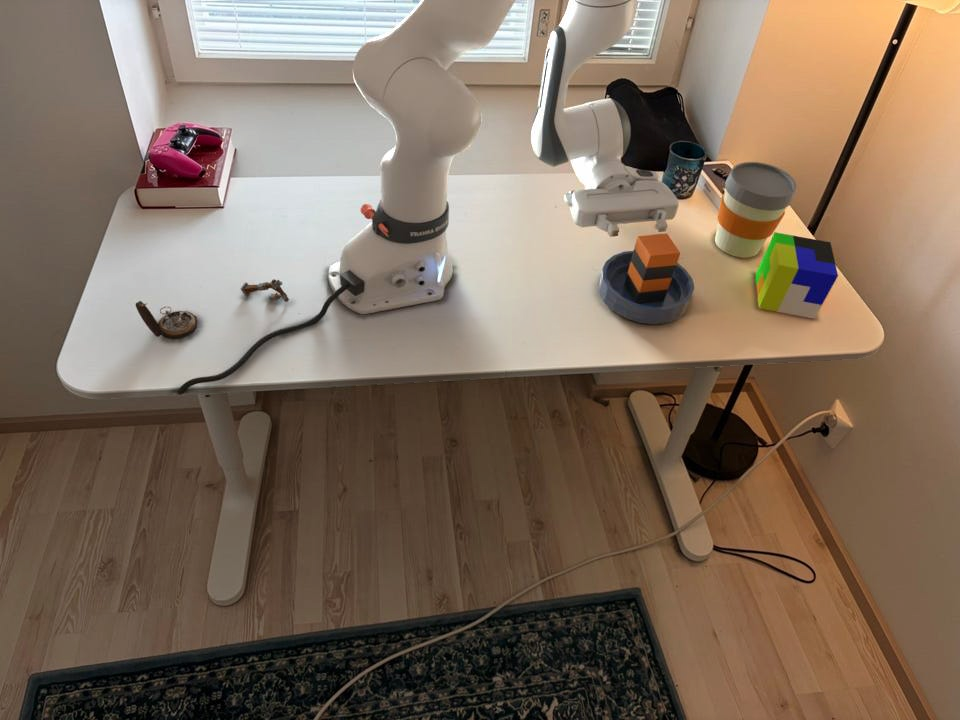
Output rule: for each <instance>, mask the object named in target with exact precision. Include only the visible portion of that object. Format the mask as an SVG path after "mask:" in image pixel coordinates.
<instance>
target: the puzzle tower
mask: <svg viewBox="0 0 960 720" xmlns="http://www.w3.org/2000/svg"><path fill="white" fill-rule="evenodd" d="M632 251H633V255H632V259H631V262H630V266H629V269H628V273H627V276H626V280H625V283H624V285H625V287H626V288H627V290H628V292H629V294H630V295H631V297H632V299H633V300H634V302H635V303H637V304H644V303H652V302H661V301H664V300H665V297H666V294H667V291H668V288H669V285H670V282H671V279H672V276H673V273H674V271H675V268H676V265H677V263H679V259H680V255H681V251H680V249H679V248H678V247H677V245H676V244H675V242H674V241H673V239H672V238H671V236H670V235H669V234H668V233H666V232H665V233H657V234H646V235H638V236H637V237H636V241H635V244H634V249H633V250H632Z"/></svg>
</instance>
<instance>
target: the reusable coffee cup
mask: <svg viewBox="0 0 960 720" xmlns="http://www.w3.org/2000/svg"><path fill="white" fill-rule="evenodd" d="M724 187H725V190H724V192H723V194H722V195H721V199H720V204H719V208H718V213H717V222H718V224H717V227H716V233H715V236H714V242H715V245H716V246H717V248H719V250H721V251H722V252H724V253H726V254H728V255H729V256H732V257H735V258H743V259H744V258H745V259H748V258H753V257H755V256H756V255H758V254H759V253H760V251H761V249H762V247H763V246H764V244H765V243H766V241H767V240H768V238H770V237H771V236H773V235H774V232H776V229H777V227H778V226H779V225H780V223H781V221H782V219H783V218H784V216H785V212H786V209H787V208H788V207H789V206H790V205H791V204H792V202H793V199H794V196H795V193H796V189H797V183H796V181H795V179H794V178H793V176H792V175H790V174H789V173H788V172H787V171H785V170H783V169H781V168H779V167H778V166H774V165H772V164H768V163H764V162H759V161H745V162H740V163H738V164H736V165H734V166H733V168H732V169H731V170H730V171H729V174H728V176H727V178H726V180H725V183H724Z"/></svg>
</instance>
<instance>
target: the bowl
mask: <svg viewBox="0 0 960 720" xmlns="http://www.w3.org/2000/svg"><path fill="white" fill-rule="evenodd" d="M633 251H634V250H627V251H622V252H619V253H616V254H614V255H612V256H611V257H610V258H609V259H607V260H606V261H605V262H604V264H603V267H602V269H601V273H600V276H599V280H598V293H599V295H600V298H601V299H602V301H603V303H604V304H605V305H606V306H607V307H608V308H609V309H610V310H611V311H612V312H614V313H616V314H618V315H619V316H621V317H623V318H624V319H627V320H631V321H633V322H636V323H637V322H638V323H641V324H648V325H649V324H650V325H659V324H667V323H670V322H673V321H676V320H677V319H680V318H681V317H682V316H683V315H684V314H685V313H686V312H687V311H688V308H689V305H690V302H691V300H692V297H693V293H694V292H695V285H694V280H693V278H692V276H691V275H690V273H689V272H688V270H687V268H685V267H684V266H682V265H681V264H680V263H679V262H677V265H676V268H675V271H674V273H673V276H672V279H671V282H670V285H669V288H668V291H667V294H666V297H665V300H664V301H661V302H652V303H644V304H637V303H635V302H634V300H633V299H632V297H631V295H630V294H629V292H628V290H627V288H626V287H625V285H624V283H625V280H626V276H627V273H628V269H629V266H630V262H631V259H632V255H633Z"/></svg>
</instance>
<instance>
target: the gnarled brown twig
mask: <svg viewBox="0 0 960 720" xmlns="http://www.w3.org/2000/svg"><path fill="white" fill-rule="evenodd" d="M282 285H283V282H282V281H281V280H279V279H271V281H269V282H267V281H265V282H261V283H260V282H259V284H249V283H248V282H244V283H243V285H242V286H241V287H240V289H239V290H240V291H241V292H242V294H243V296H244V297H245V298H246V297H248V296H249V295H250V294H251V293H254V292H258V291H259V292H262V291H268V290H269V289H272V290H273V291H274V292H275V293H271V294H270V295H269V296H268V299H269V300H271V302H274V301H276V302H278V301H279V300H280V299H282V300H283V301H284V302H285V303H287V302H289V301H290V298H289V296H288V294H287V293H286V292H285V291H284V290H283V288H282V287H281V286H282Z"/></svg>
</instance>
